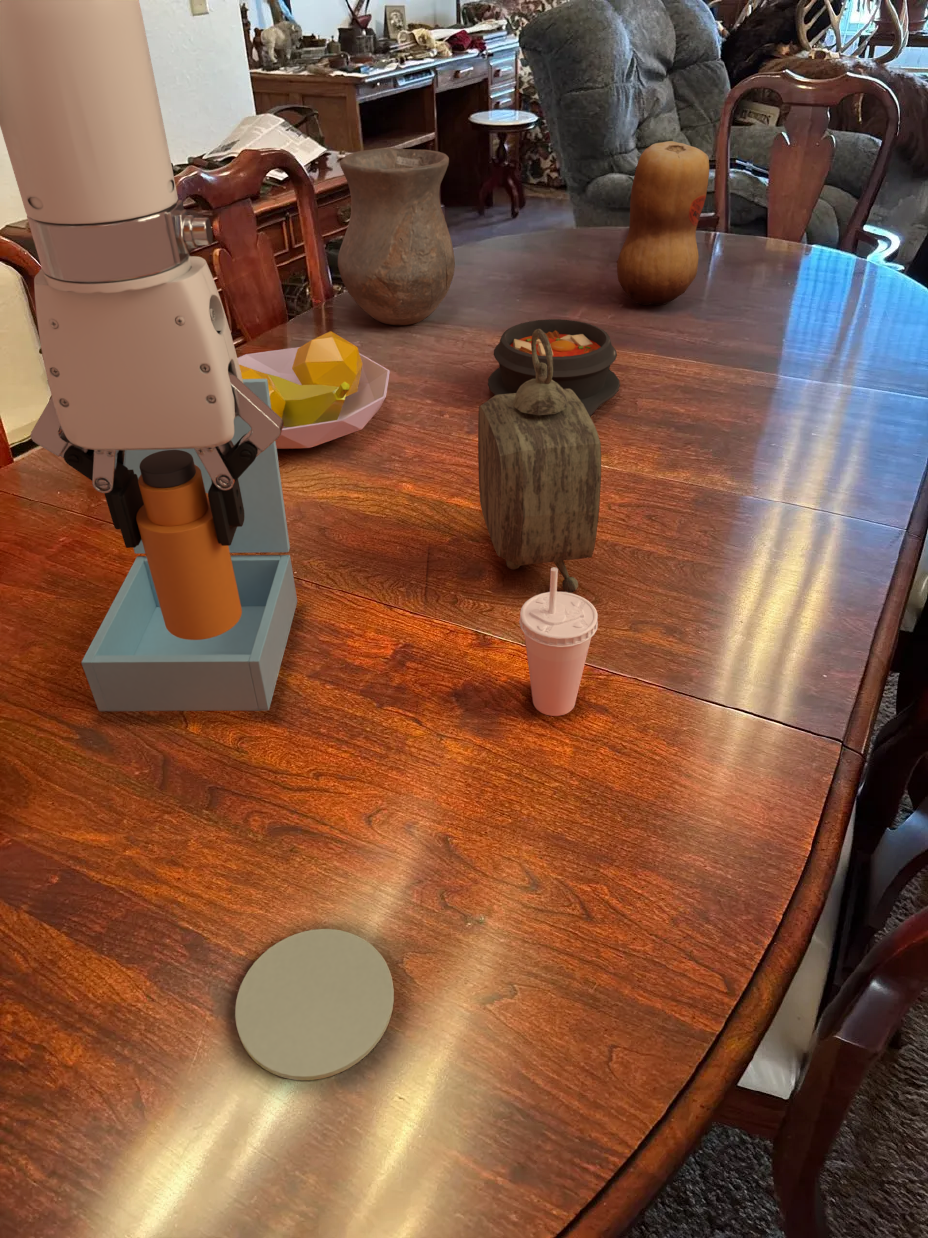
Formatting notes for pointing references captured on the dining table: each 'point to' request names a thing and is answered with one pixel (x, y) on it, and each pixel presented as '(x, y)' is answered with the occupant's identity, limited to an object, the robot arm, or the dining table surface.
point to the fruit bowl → (319, 389)
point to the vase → (396, 234)
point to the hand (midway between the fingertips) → (183, 532)
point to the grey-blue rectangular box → (193, 646)
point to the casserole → (558, 360)
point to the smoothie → (557, 646)
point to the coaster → (314, 1004)
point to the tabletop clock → (539, 472)
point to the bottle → (185, 549)
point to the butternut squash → (663, 223)
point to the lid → (246, 490)
